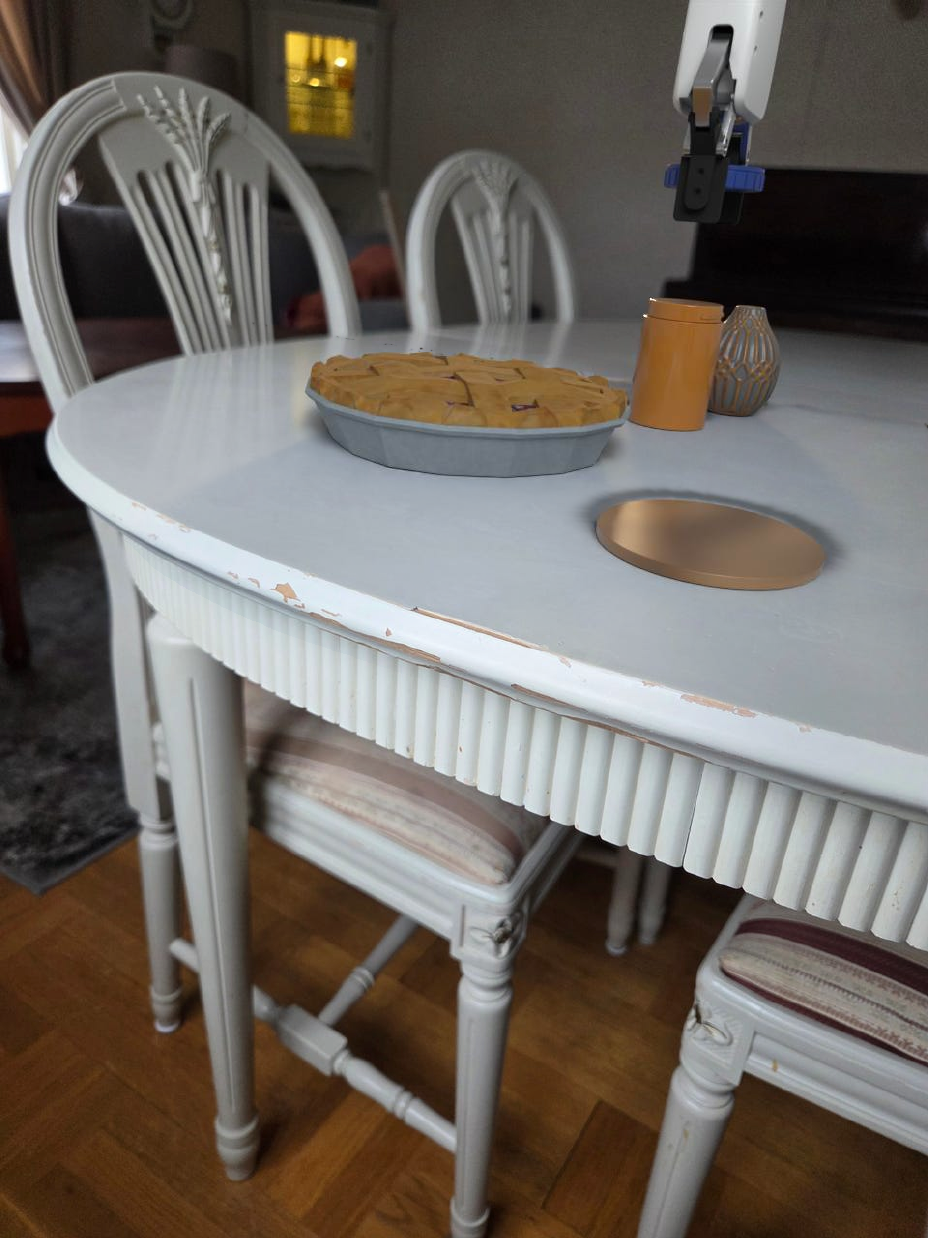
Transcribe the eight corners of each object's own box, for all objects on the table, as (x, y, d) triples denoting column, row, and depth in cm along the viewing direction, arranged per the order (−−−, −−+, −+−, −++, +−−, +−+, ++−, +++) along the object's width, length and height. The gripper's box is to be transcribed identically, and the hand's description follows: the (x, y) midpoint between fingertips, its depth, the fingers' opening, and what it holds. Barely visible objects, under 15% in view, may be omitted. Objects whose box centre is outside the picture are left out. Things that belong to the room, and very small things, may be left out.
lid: (652, 184, 59) (655, 162, 58) (676, 190, 64) (679, 169, 64) (752, 188, 56) (757, 165, 55) (768, 193, 62) (772, 172, 61)
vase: (674, 402, 75) (693, 300, 72) (739, 403, 78) (760, 303, 74) (717, 420, 70) (739, 309, 66) (785, 420, 72) (811, 313, 68)
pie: (682, 483, 51) (698, 402, 49) (328, 489, 45) (328, 396, 43) (551, 406, 70) (559, 344, 68) (288, 402, 64) (287, 334, 61)
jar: (710, 421, 69) (734, 304, 65) (694, 434, 64) (719, 308, 60) (638, 409, 71) (657, 295, 67) (617, 421, 66) (636, 299, 62)
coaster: (831, 538, 44) (834, 527, 44) (810, 611, 35) (814, 598, 34) (630, 496, 48) (632, 486, 48) (565, 553, 39) (566, 541, 39)
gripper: (723, -41, 62) (682, 222, 70) (667, -126, 48) (623, 217, 55) (829, -48, 59) (774, 228, 67) (803, -140, 45) (737, 223, 53)
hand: (706, 220), depth 61 cm, fingers closed on lid, 6 cm apart
